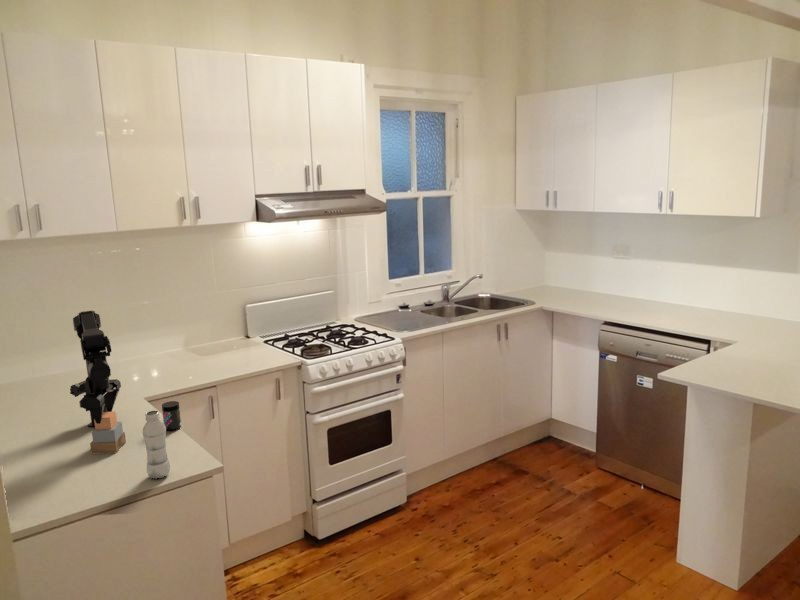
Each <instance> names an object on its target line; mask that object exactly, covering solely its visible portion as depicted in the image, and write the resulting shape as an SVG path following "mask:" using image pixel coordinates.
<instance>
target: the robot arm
mask: <svg viewBox="0 0 800 600" xmlns="http://www.w3.org/2000/svg"><path fill="white" fill-rule="evenodd" d="M100 317H101V316H100V314H98V313H96V311H95V310H86V311H85V310H84V311H80V312H78V313H77V315H75V316H73V318H72V324H73V329H74V330H73V331H74V332H76V336H77V337H78V338H79V339H80V340H79V341H80V347H81V349H80V350H81V353H82V358H83V361H85V364H86V365H85V366H86V372H87V377H86V378H85V380H82V381H80V382H78V383H75V384H71V385H70V389H69V390H70V392H69V394H71V395H72V396H74V397H75V398H76V397H79V396H80V395H83V397H82V398H81V399H80V400H79V408H81V409H84V410H85V412H89V415H90V421H91V422H90V423H89V424H88V425H87V427H88V428H92V427H94V428H95V423H94V419H95V421H96V423H97V424H100V423H101V420H102V415H103V412H113V409H114V406H115V403H116V400H117V397H118V395H119V392H120V389H121V387H122V385H121V384H122V383H121V381H120V380H119V379H117V378H116V379H110V377H111V375H112V373H111V372H112V371H111V368H110V365H109V363H108V361H107V357H110V356H111V353H112V347H111V342H110V339H109V337H108V336H107V335H105V332H104V331H103V330H102V329H100V328H101V327H102V322H101V318H100Z"/></svg>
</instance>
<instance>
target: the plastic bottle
mask: <svg viewBox="0 0 800 600" xmlns="http://www.w3.org/2000/svg"><path fill="white" fill-rule="evenodd" d="M160 418H161V417H160V411H159V410H149V411H147V412H146V413H145V421H146V422H145V424H144V426H143V428H142V436H143V441H144V443H145V448H146V461H147V463H146V473H147V476H148V477H149V478H150V479H152V478H153V480H157V478H159V479H162V478H164V476H165V477H166V476H168V475H169V473H170V471H171V465H170V461H169V457H168V453H167V447H166V446H167V445H166V444H167V443H166V442H167V441H166V435H167V431H166V427H165V425H164V422H163V421H161V420H160ZM167 474H168V475H167ZM154 478H155V479H154Z"/></svg>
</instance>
